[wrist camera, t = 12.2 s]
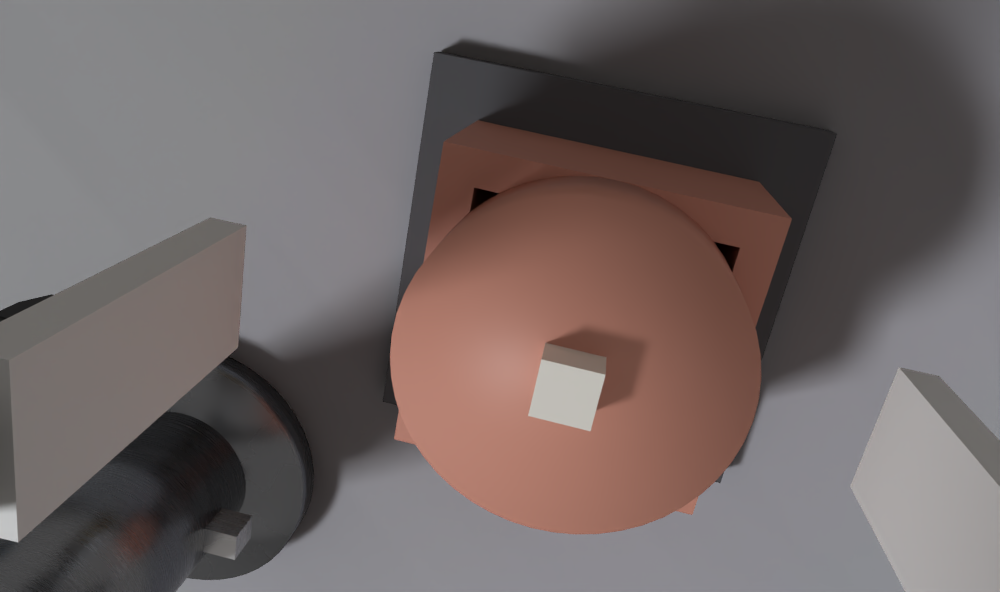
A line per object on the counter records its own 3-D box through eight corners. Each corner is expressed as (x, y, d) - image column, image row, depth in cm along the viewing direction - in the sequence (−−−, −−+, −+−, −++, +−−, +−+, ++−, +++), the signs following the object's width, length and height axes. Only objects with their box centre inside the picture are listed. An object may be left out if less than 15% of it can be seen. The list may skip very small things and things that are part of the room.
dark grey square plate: (388, 392, 23) (383, 401, 23) (439, 51, 20) (433, 52, 19) (717, 471, 23) (720, 482, 22) (830, 131, 19) (836, 133, 18)
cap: (432, 370, 22) (356, 506, 16) (478, 119, 20) (408, 163, 13) (680, 430, 22) (703, 597, 15) (759, 181, 19) (826, 257, 13)
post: (83, 527, 27) (-163, 754, 18) (81, 318, 24) (-210, 473, 16) (301, 585, 26) (149, 847, 18) (325, 377, 23) (159, 572, 15)
